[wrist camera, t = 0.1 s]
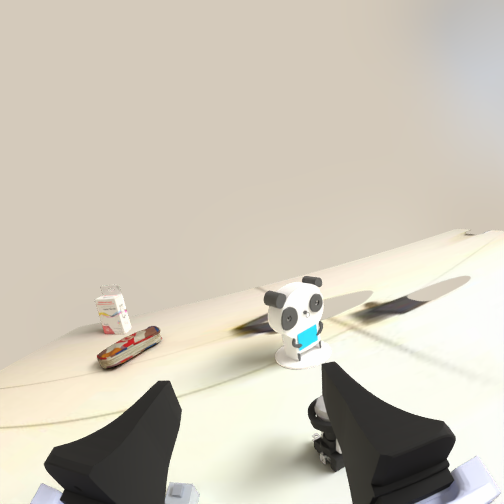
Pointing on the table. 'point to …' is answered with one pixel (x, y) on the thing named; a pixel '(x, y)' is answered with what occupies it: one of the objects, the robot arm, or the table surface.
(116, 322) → the ink cartridge box
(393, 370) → the table surface
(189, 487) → the connector
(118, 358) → the pencil case
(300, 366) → the panda figurine
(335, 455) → the push button
